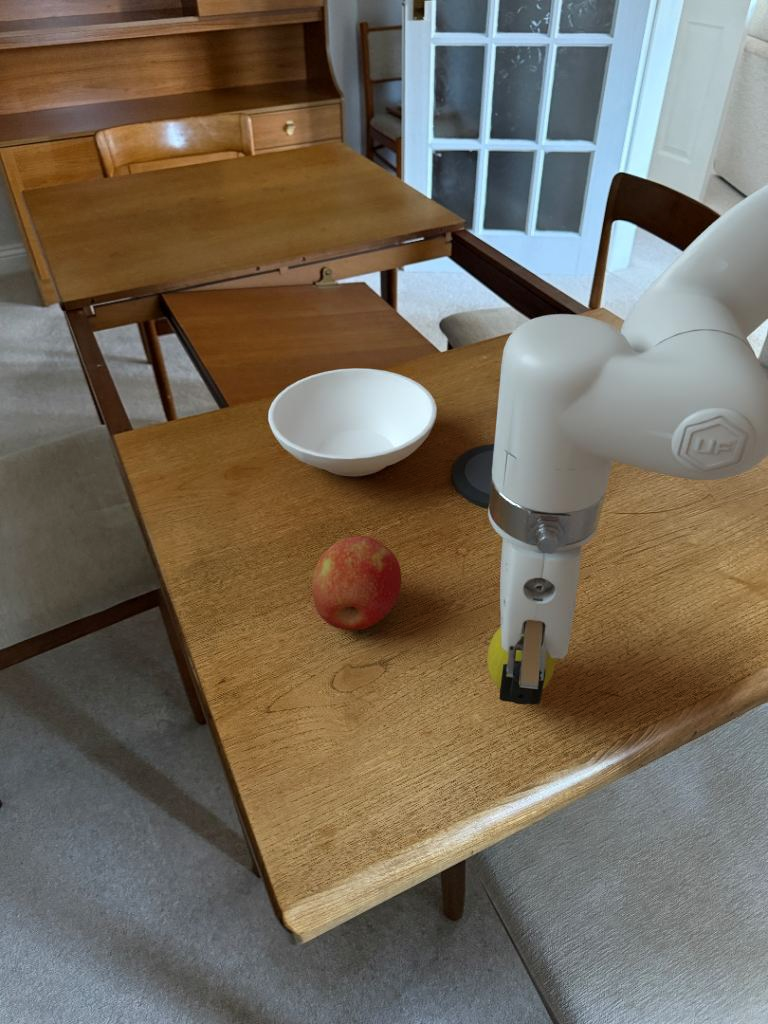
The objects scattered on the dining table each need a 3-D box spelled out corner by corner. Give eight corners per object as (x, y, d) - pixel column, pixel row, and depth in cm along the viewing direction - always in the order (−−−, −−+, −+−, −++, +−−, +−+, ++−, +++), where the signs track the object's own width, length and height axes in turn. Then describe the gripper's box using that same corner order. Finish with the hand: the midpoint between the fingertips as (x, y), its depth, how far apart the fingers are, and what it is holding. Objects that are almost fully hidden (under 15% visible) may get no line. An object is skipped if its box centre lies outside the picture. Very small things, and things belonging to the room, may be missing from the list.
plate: (562, 458, 89) (563, 452, 89) (546, 520, 80) (547, 513, 80) (464, 442, 92) (465, 436, 92) (439, 500, 84) (440, 493, 83)
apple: (411, 594, 72) (411, 533, 67) (380, 658, 66) (378, 596, 61) (336, 574, 75) (331, 514, 70) (300, 634, 69) (291, 573, 64)
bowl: (464, 442, 92) (467, 394, 88) (377, 530, 80) (375, 479, 75) (337, 399, 101) (334, 354, 96) (241, 472, 88) (232, 424, 84)
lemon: (498, 722, 61) (507, 660, 56) (474, 670, 65) (480, 608, 60) (560, 707, 62) (574, 644, 57) (532, 656, 66) (543, 594, 61)
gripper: (613, 596, 43) (569, 766, 55) (593, 433, 56) (561, 598, 68) (484, 584, 44) (468, 754, 56) (493, 426, 57) (479, 590, 69)
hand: (519, 667), depth 62 cm, fingers closed on lemon, 5 cm apart
